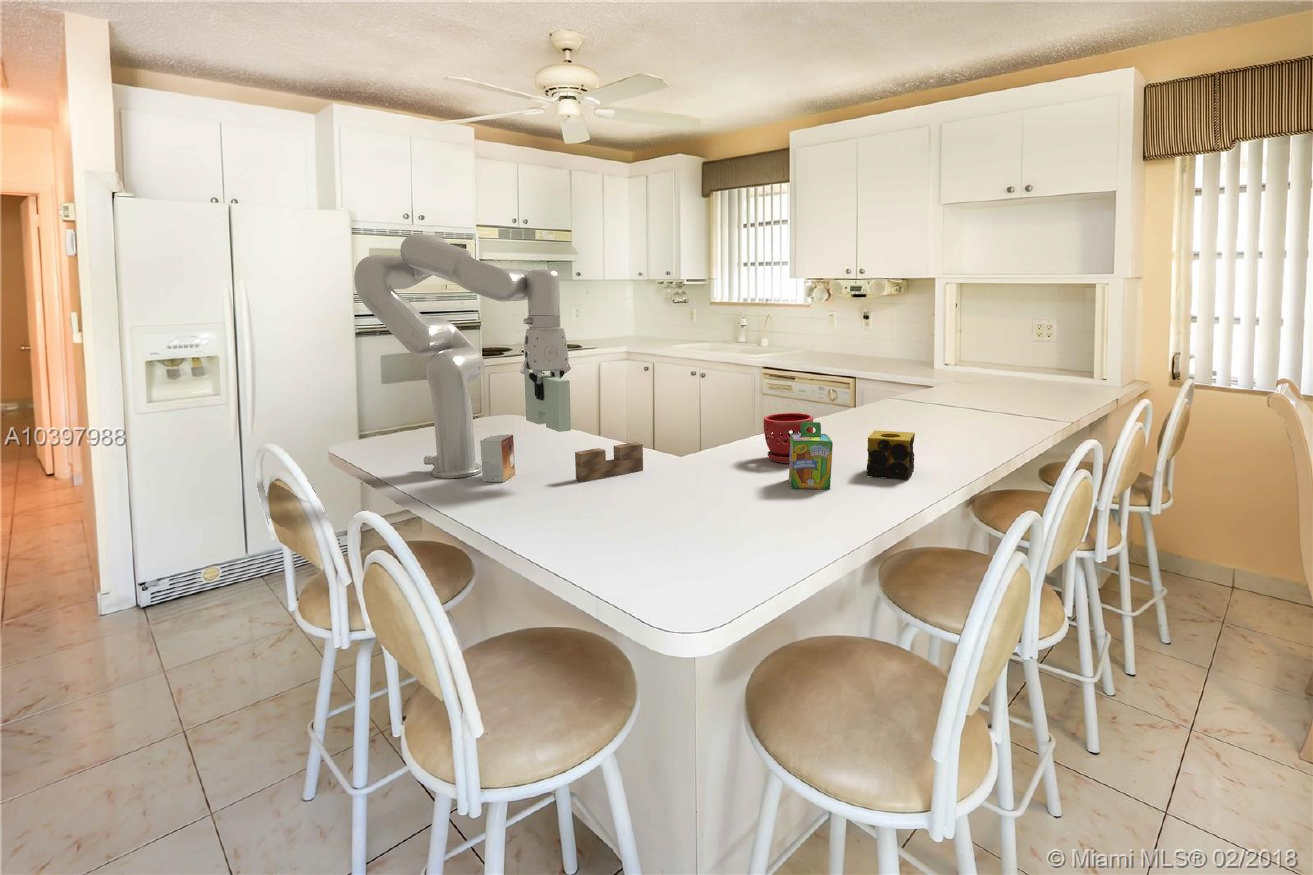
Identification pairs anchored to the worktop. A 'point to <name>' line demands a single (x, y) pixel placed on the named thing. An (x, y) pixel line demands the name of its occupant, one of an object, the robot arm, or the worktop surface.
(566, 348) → the robot arm
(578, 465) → the walnut board
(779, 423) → the plant pot
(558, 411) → the green board
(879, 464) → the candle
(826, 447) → the chalk box
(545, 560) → the worktop surface
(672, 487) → the worktop surface
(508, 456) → the small box
